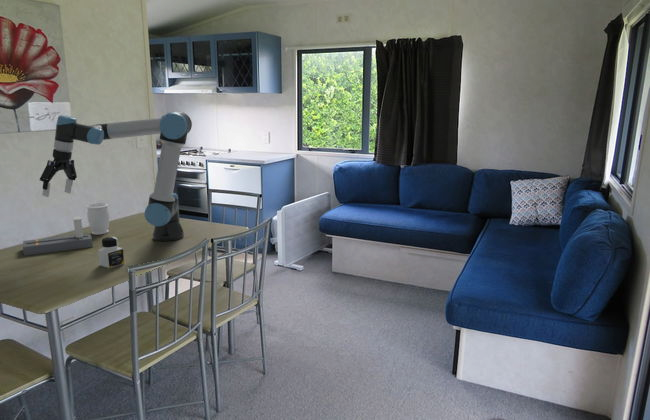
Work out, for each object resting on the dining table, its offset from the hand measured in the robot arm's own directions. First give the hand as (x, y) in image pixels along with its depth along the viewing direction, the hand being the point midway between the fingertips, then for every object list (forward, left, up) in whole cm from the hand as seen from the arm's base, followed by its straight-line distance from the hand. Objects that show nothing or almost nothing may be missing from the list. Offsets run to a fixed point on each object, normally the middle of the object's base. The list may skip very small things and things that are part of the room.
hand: (56, 194), depth 219 cm
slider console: (0, +2, -26) cm, 26 cm away
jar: (+11, -23, -26) cm, 36 cm away
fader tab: (-3, -6, -23) cm, 24 cm away
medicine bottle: (-41, -3, -26) cm, 49 cm away
